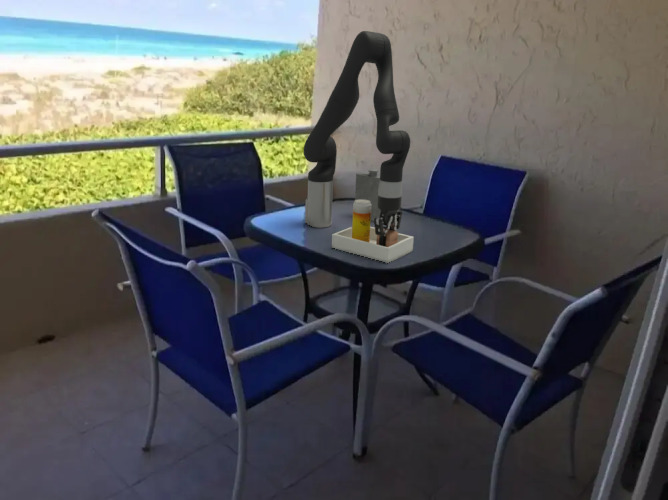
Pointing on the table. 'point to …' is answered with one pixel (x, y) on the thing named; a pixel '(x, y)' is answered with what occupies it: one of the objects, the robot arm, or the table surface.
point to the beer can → (361, 220)
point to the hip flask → (368, 190)
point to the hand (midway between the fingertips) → (386, 244)
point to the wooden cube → (389, 238)
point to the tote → (372, 245)
